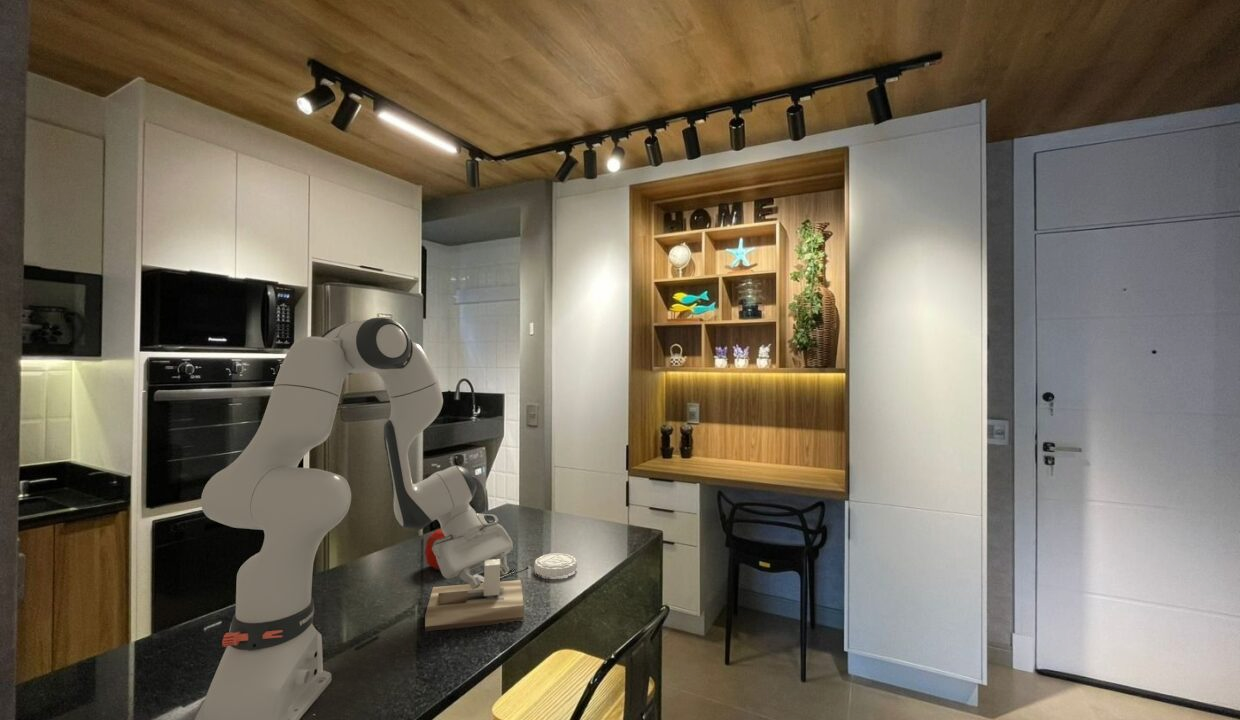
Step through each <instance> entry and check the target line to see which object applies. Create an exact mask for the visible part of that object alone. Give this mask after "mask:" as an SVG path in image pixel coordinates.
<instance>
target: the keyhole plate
mask: <svg viewBox="0 0 1240 720" xmlns="http://www.w3.org/2000/svg"><path fill="white" fill-rule="evenodd" d="M486 597H487V596H484V583H481V584H480V585H479V587H477V588H475V589H472V588H471V586H470V584H469V583H466V584H456V585H445V586H444V585H443V586H441V585H440V586H433V587H432V590H431V593H430V596H429V601H428V604H427V607H426V612H425V616H424V617H425V618H424V620H425V621H424V632H433V631H439V630H440V631H441V630H451V629H460V628H470V627H479V626H481V627H482V626H490V625H491V626H492V625H499V623H502V624H506V623H505V622H511V623H513V622H512V621H521V620H523V621H524V617H525V616H524V614H525V613H524V609H525V604H524V598H523V597H524V596H523V589H522V580H520V579H516V580H506V581H504V580H503V581H500V595H497V598H488V599H484V598H486ZM521 622H522V621H521Z"/></svg>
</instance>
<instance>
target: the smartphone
mask: <svg viewBox="0 0 1240 720" xmlns="http://www.w3.org/2000/svg"><path fill="white" fill-rule="evenodd" d="M512 570H513V569H512ZM512 570H509V572H508V573H507V574H504V575H501V573H500V578H502V577H504V576H506V575H508V574H511V573H514V572H515V571H516V570H515V569H514V570H515V571H514V570H513V571H512ZM472 576H473V577H474V578H476V577H478V579H479V581H480V582H482V583H484V571H481V572H478V573H476V574H473V575H472Z"/></svg>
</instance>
